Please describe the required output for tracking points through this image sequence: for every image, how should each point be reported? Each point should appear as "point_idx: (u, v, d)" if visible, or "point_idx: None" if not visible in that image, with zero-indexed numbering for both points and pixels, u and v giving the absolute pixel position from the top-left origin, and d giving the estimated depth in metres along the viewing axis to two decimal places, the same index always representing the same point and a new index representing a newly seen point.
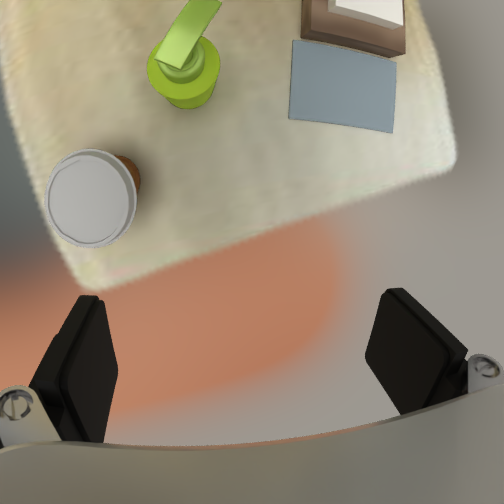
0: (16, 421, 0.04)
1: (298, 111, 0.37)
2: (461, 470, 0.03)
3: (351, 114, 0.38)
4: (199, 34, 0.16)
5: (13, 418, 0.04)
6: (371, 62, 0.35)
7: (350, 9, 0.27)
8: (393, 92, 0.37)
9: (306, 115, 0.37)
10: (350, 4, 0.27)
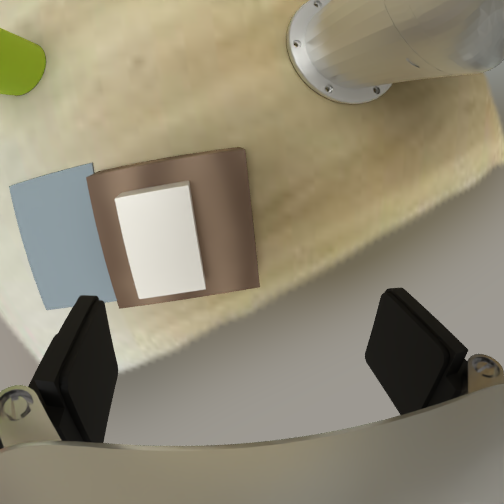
0: (16, 421, 0.04)
1: (17, 194, 0.27)
2: (461, 470, 0.03)
3: (38, 256, 0.30)
4: None
5: (13, 418, 0.04)
6: (105, 267, 0.32)
7: (119, 220, 0.25)
8: None
9: (17, 204, 0.28)
10: (126, 218, 0.24)
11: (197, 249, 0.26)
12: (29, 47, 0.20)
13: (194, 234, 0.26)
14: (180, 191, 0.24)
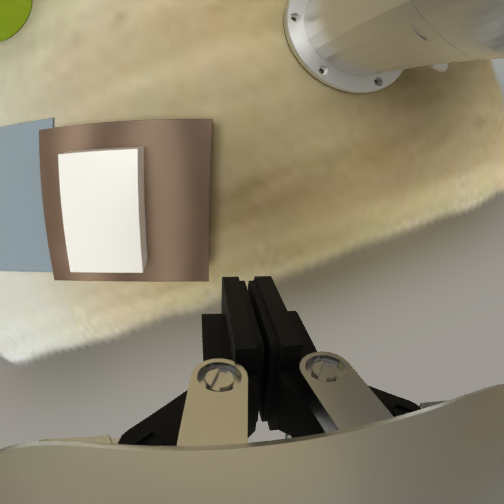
0: (212, 392, 0.06)
1: None
2: (461, 470, 0.03)
3: None
4: None
5: (210, 387, 0.06)
6: None
7: (60, 179, 0.20)
8: (28, 268, 0.28)
9: None
10: (67, 178, 0.20)
11: (138, 224, 0.22)
12: None
13: (136, 206, 0.21)
14: (127, 154, 0.20)
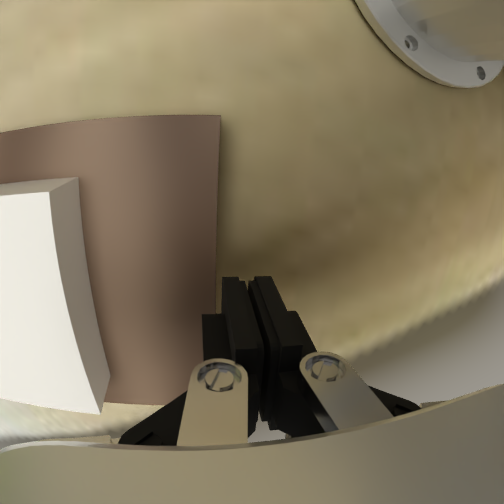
0: (212, 391, 0.06)
1: None
2: (461, 470, 0.03)
3: None
4: None
5: (210, 387, 0.06)
6: None
7: None
8: None
9: None
10: None
11: (74, 345, 0.10)
12: None
13: (65, 314, 0.09)
14: (31, 206, 0.08)
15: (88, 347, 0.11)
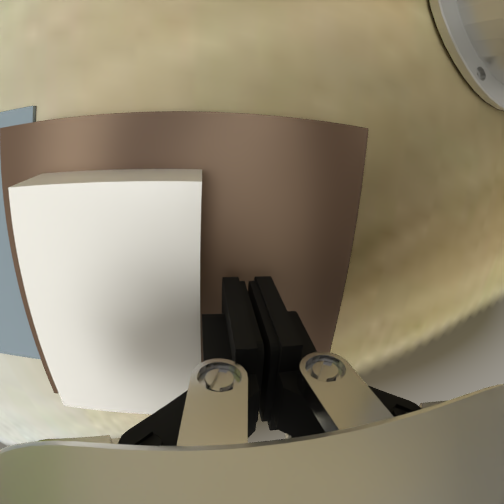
0: (212, 392, 0.06)
1: None
2: (461, 470, 0.03)
3: None
4: None
5: (210, 387, 0.06)
6: None
7: (17, 244, 0.08)
8: (11, 350, 0.16)
9: None
10: (31, 244, 0.08)
11: (197, 345, 0.10)
12: None
13: (196, 312, 0.10)
14: (176, 195, 0.08)
15: None
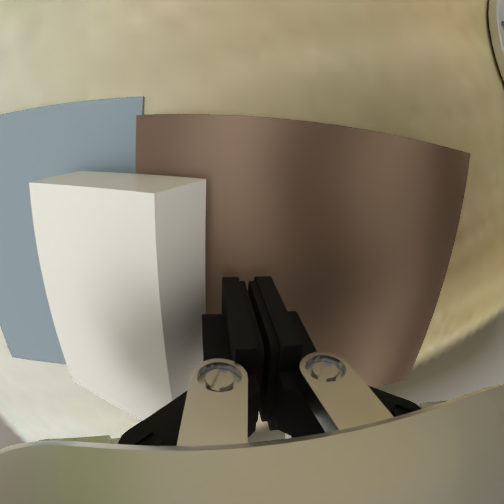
0: (212, 391, 0.06)
1: None
2: (461, 470, 0.03)
3: (1, 267, 0.14)
4: None
5: (210, 387, 0.06)
6: None
7: (37, 231, 0.10)
8: None
9: None
10: (42, 233, 0.10)
11: (165, 368, 0.09)
12: None
13: (159, 334, 0.09)
14: (133, 206, 0.08)
15: (184, 371, 0.10)
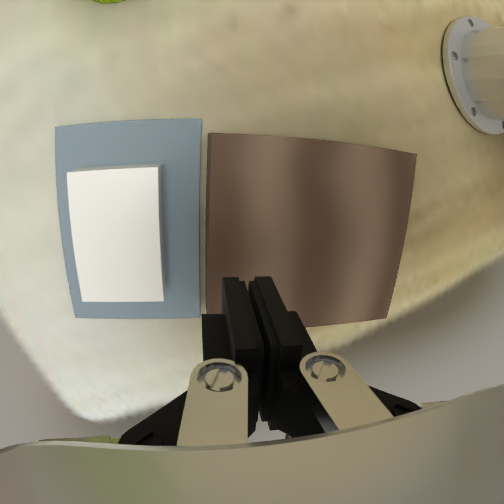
0: (212, 392, 0.06)
1: (67, 141, 0.19)
2: (461, 470, 0.03)
3: None
4: None
5: (210, 387, 0.06)
6: (185, 271, 0.24)
7: (161, 190, 0.21)
8: (142, 315, 0.24)
9: (62, 156, 0.19)
10: None
11: None
12: None
13: None
14: None
15: None
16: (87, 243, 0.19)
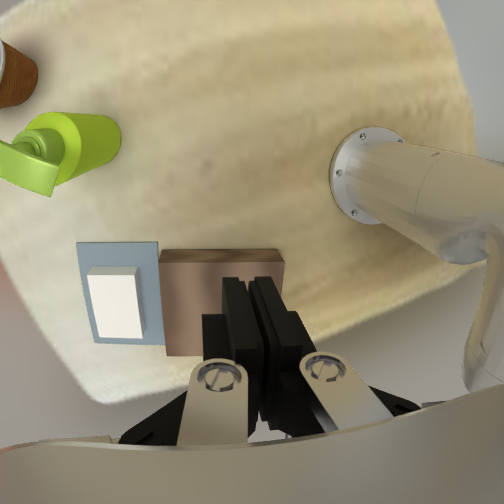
0: (212, 391, 0.06)
1: (84, 252, 0.36)
2: (461, 470, 0.03)
3: None
4: (10, 181, 0.14)
5: (210, 387, 0.06)
6: (155, 320, 0.41)
7: None
8: (132, 342, 0.42)
9: (82, 259, 0.37)
10: None
11: None
12: (111, 133, 0.29)
13: None
14: None
15: None
16: (100, 309, 0.37)
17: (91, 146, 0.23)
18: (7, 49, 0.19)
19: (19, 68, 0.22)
